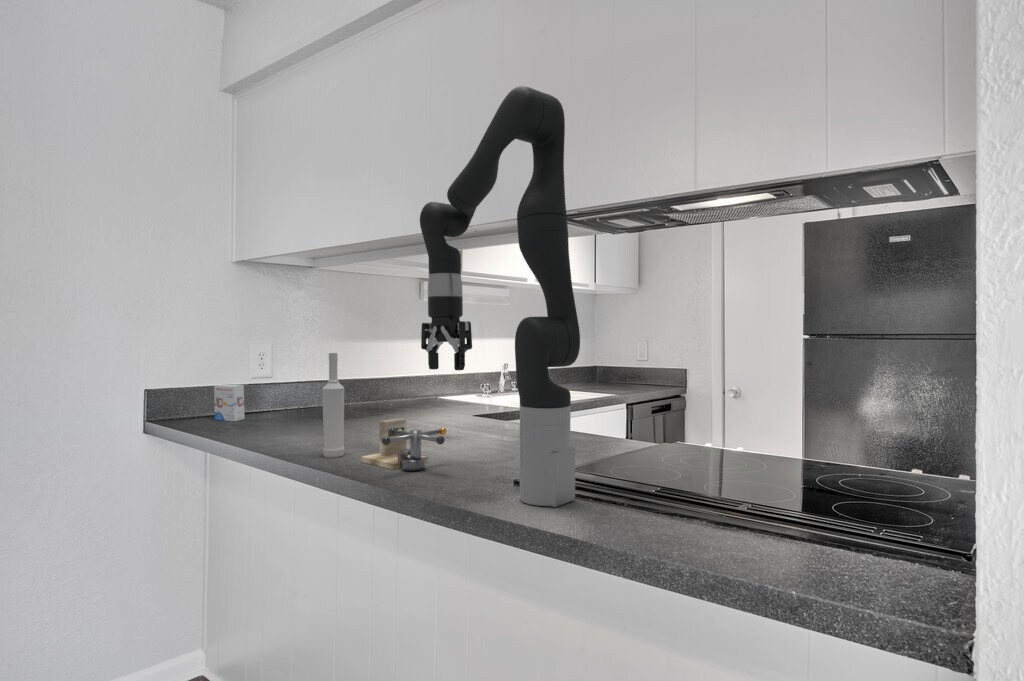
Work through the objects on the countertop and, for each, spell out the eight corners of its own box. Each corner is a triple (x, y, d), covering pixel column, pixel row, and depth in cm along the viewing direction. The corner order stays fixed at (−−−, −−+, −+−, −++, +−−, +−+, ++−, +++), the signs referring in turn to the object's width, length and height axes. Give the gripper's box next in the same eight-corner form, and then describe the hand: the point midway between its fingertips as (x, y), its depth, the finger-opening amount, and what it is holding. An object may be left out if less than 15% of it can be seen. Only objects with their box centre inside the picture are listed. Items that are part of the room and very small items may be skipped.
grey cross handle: (473, 467, 140) (473, 430, 139) (410, 482, 126) (410, 441, 126) (420, 456, 151) (420, 421, 151) (357, 469, 138) (357, 431, 138)
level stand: (434, 463, 145) (434, 423, 145) (400, 471, 138) (400, 429, 137) (395, 455, 155) (394, 417, 154) (360, 461, 147) (360, 422, 147)
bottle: (318, 456, 153) (317, 353, 152) (333, 452, 158) (332, 352, 157) (334, 458, 151) (333, 353, 150) (349, 454, 155) (348, 352, 155)
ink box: (213, 420, 211) (213, 385, 211) (224, 418, 216) (223, 383, 216) (234, 421, 209) (234, 385, 208) (245, 419, 214) (244, 384, 213)
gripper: (480, 294, 136) (481, 369, 136) (437, 297, 146) (438, 368, 146) (453, 293, 130) (454, 371, 130) (411, 296, 140) (412, 369, 140)
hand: (446, 369), depth 138 cm, fingers open, 8 cm apart
